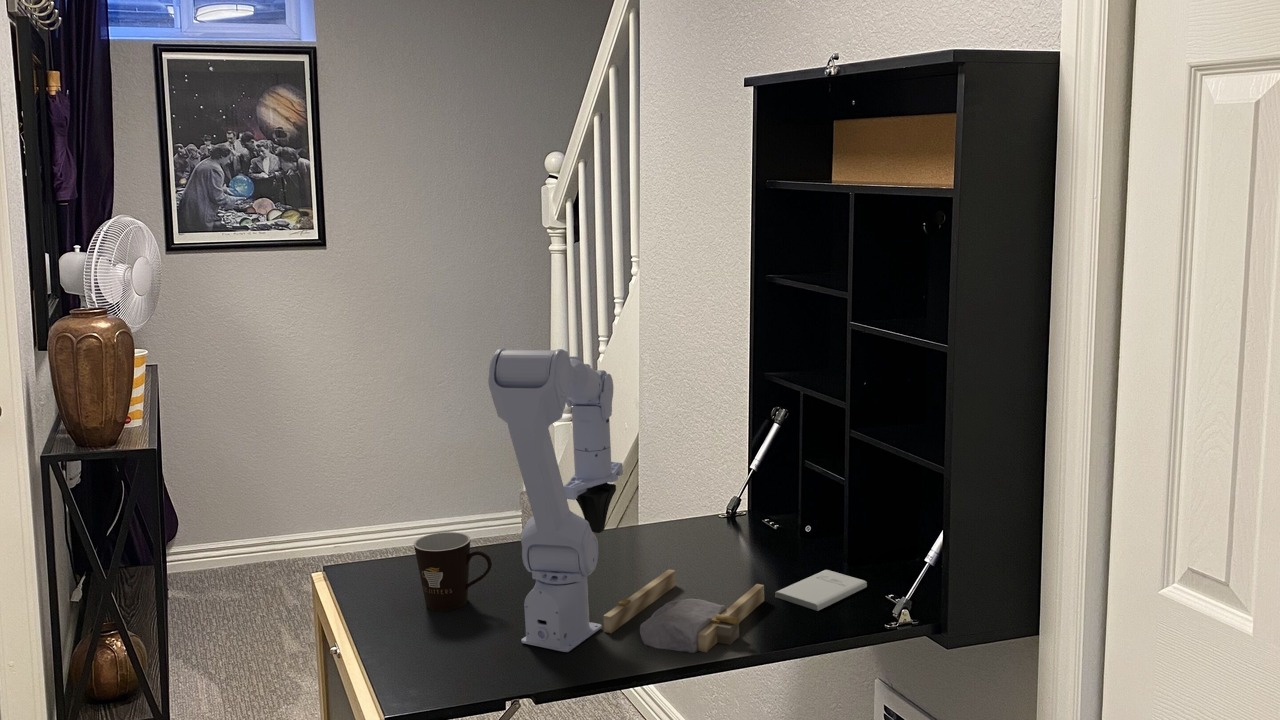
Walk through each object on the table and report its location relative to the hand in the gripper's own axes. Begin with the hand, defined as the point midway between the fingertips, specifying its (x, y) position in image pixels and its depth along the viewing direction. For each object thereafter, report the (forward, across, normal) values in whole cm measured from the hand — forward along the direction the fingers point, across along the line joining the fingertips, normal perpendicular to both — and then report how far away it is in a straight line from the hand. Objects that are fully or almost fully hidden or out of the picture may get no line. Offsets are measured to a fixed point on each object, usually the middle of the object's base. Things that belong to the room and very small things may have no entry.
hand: (596, 531), depth 182 cm
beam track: (+10, -3, -18) cm, 21 cm away
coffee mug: (+10, -14, +18) cm, 25 cm away
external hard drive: (+11, +14, -32) cm, 36 cm away
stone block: (+10, -9, -19) cm, 23 cm away
